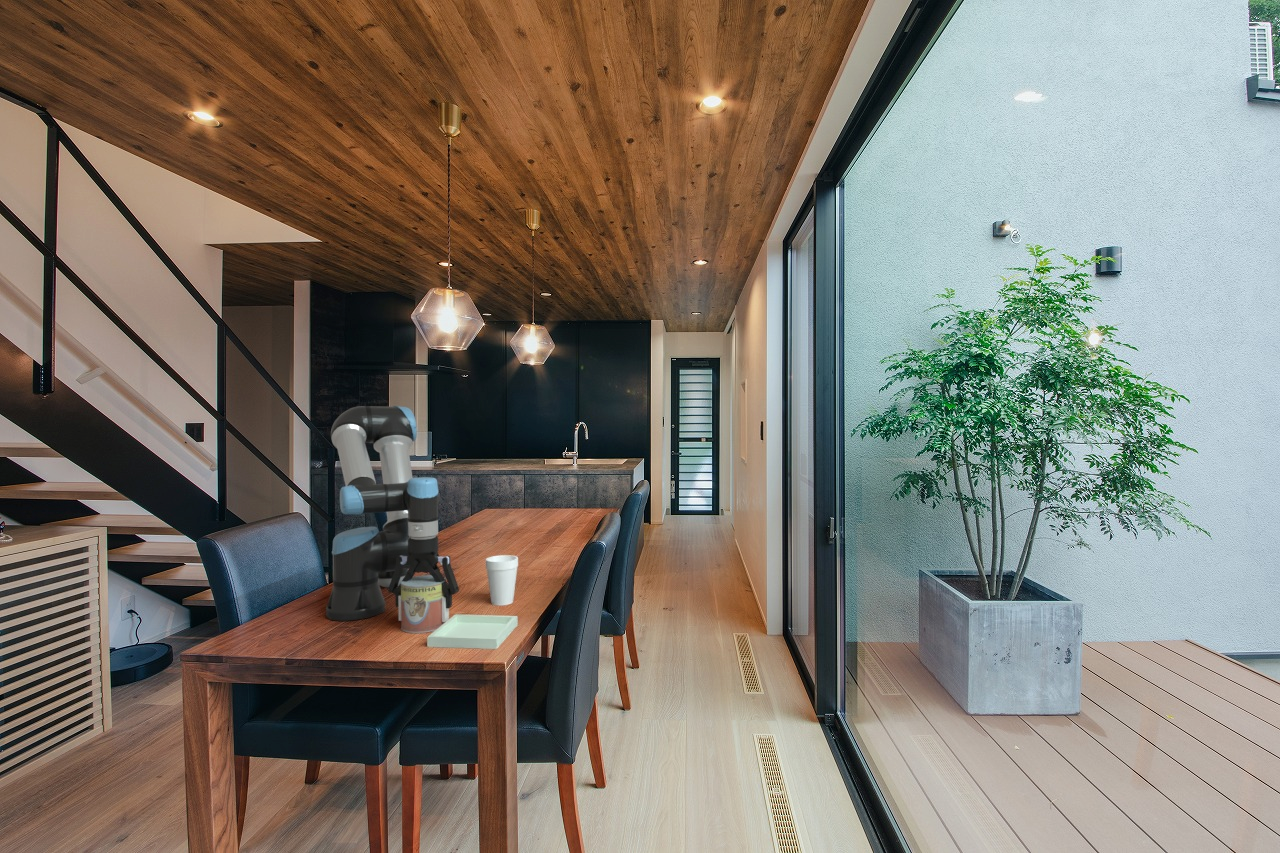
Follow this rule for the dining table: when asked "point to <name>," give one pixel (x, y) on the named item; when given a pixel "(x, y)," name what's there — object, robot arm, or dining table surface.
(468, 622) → the tray
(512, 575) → the foam cup
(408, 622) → the canned food
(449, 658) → the dining table surface
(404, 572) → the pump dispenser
